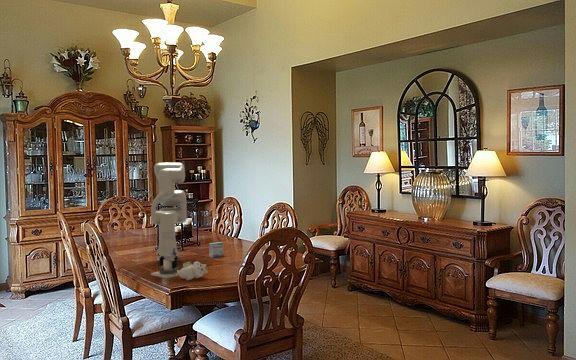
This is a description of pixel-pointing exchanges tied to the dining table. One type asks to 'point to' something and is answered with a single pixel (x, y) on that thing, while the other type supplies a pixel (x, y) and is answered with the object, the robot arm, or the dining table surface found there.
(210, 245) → the medicine box
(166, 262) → the cream cap
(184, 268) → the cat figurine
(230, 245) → the dining table surface
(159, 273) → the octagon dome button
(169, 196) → the robot arm
